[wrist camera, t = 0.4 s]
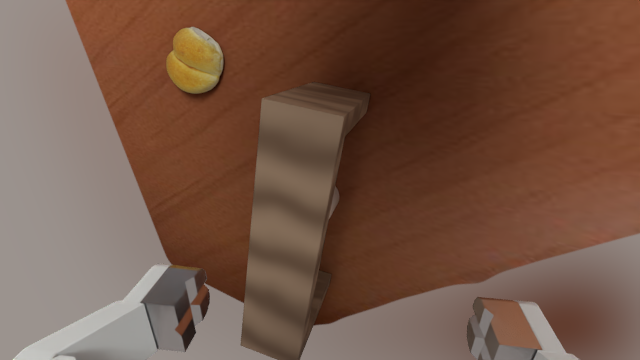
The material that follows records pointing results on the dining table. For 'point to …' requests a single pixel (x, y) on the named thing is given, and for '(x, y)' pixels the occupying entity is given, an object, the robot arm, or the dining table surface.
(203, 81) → the bread roll
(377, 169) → the dining table surface
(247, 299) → the arch
